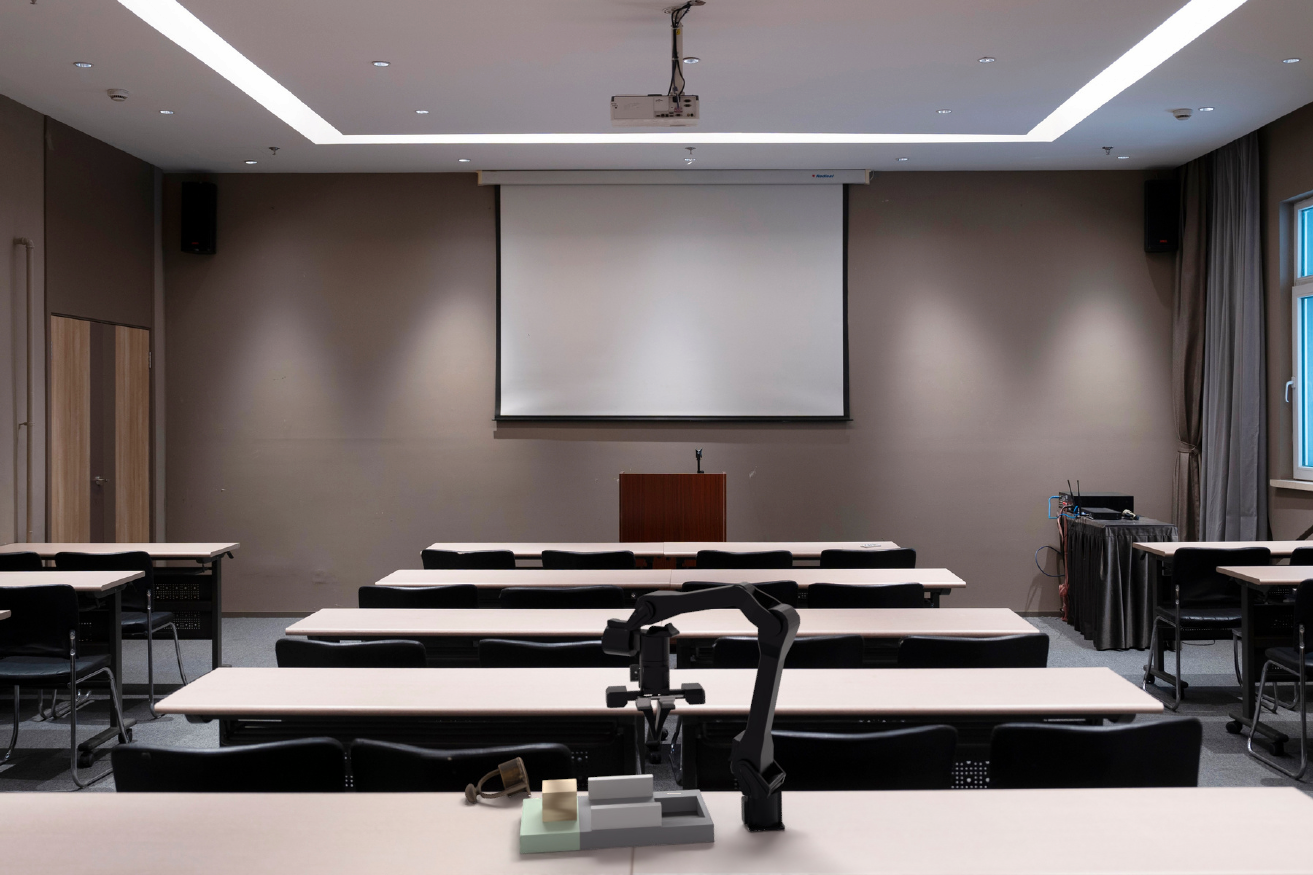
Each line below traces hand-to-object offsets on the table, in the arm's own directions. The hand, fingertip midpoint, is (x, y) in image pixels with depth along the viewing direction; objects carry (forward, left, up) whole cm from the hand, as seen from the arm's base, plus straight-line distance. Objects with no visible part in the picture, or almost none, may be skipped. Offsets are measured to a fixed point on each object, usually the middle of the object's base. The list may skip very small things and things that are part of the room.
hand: (655, 740), depth 170 cm
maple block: (+18, +10, -9) cm, 23 cm away
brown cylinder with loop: (+30, -9, -12) cm, 34 cm away
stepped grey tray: (+8, +10, -12) cm, 18 cm away
